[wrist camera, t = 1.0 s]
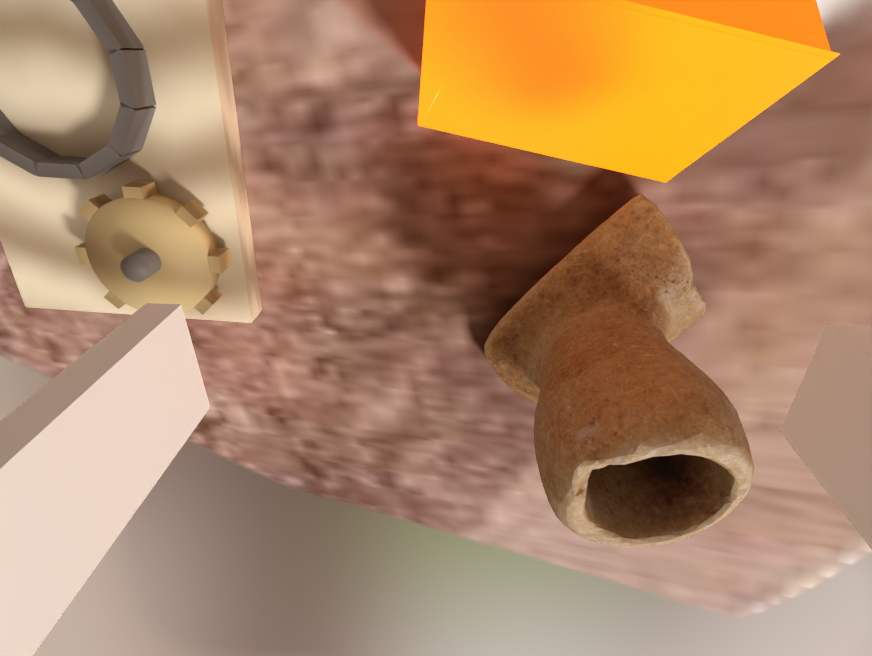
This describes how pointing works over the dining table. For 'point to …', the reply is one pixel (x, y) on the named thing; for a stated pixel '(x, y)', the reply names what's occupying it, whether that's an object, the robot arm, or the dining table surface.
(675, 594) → the dining table surface
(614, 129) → the orange juice
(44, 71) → the gear board
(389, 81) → the dining table surface
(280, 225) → the dining table surface
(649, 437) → the brown hollow flared piece
